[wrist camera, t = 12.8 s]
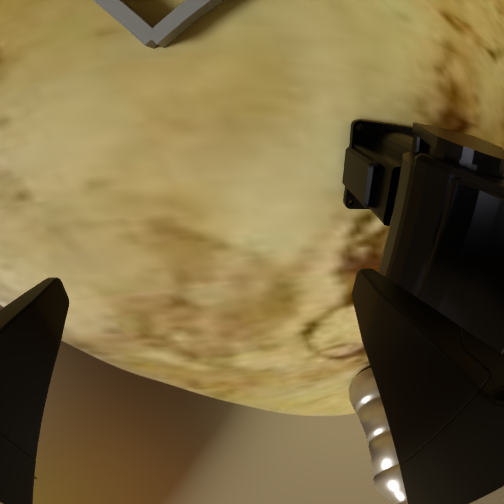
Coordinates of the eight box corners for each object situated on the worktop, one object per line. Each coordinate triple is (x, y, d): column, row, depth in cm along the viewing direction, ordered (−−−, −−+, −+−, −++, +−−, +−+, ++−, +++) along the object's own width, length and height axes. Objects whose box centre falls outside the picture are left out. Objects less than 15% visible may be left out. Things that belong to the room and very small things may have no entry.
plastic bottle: (334, 387, 35) (368, 529, 18) (366, 355, 31) (418, 512, 15) (370, 390, 36) (408, 516, 19) (401, 360, 33) (454, 496, 16)
